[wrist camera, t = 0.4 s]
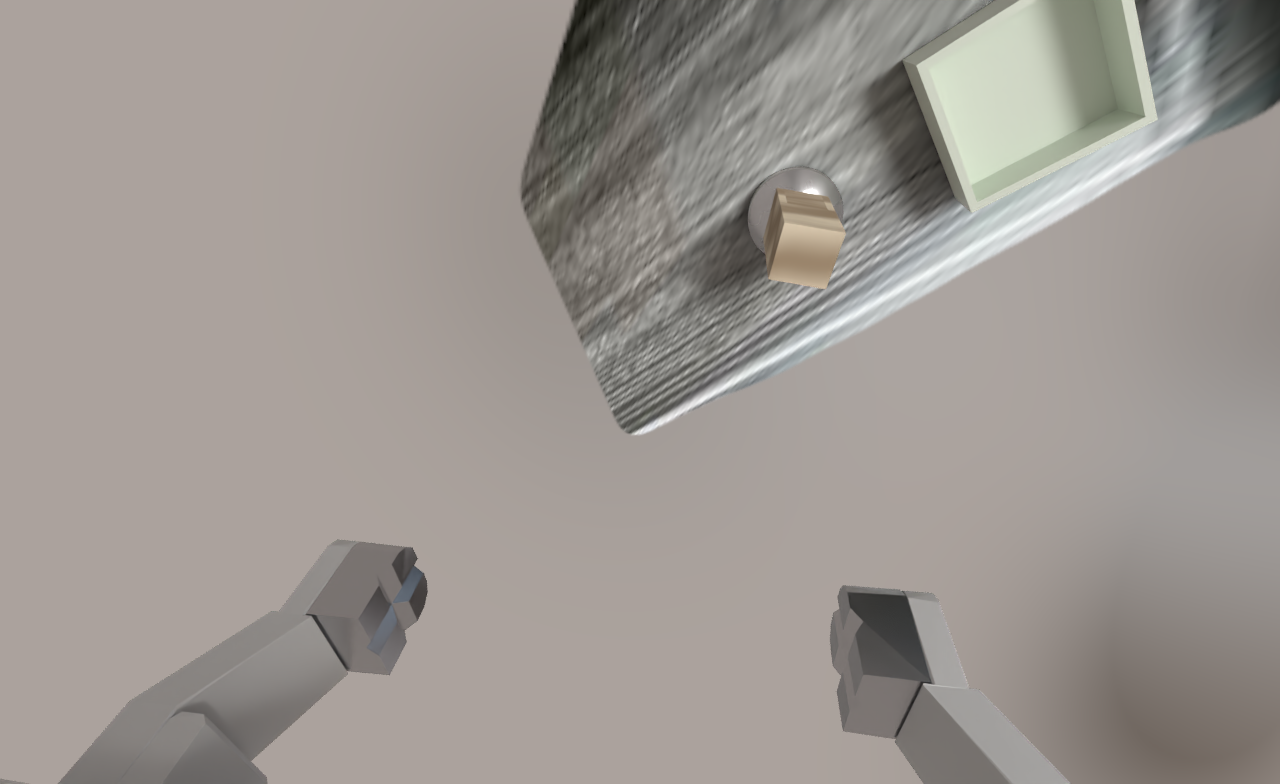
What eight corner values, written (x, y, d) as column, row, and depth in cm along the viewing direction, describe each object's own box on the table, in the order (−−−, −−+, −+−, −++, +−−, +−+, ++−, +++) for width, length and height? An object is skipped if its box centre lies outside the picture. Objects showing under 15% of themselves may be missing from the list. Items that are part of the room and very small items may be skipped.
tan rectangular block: (776, 187, 47) (784, 222, 40) (828, 196, 47) (845, 233, 40) (763, 237, 50) (768, 279, 42) (812, 246, 49) (825, 289, 42)
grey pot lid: (760, 159, 47) (762, 171, 43) (855, 175, 47) (864, 189, 43) (738, 249, 52) (738, 267, 48) (824, 264, 51) (830, 283, 48)
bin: (902, 60, 42) (916, 65, 38) (1087, -59, 36) (1121, -65, 33) (955, 198, 46) (971, 212, 43) (1124, 110, 41) (1157, 119, 38)
